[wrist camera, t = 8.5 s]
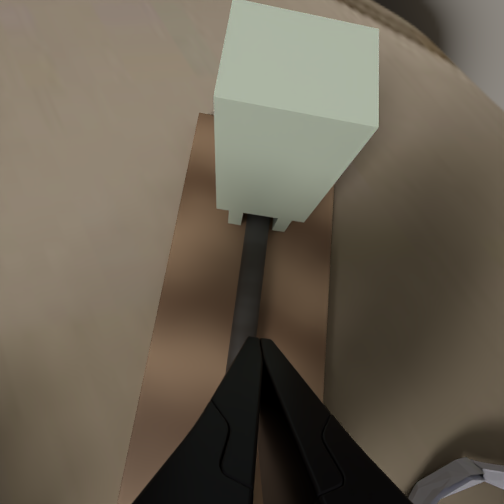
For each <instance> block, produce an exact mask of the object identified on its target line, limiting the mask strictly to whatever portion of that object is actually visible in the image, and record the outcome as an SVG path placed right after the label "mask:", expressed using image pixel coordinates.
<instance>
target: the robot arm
mask: <svg viewBox="0 0 504 504" xmlns="http://www.w3.org/2000/svg"><path fill="white" fill-rule="evenodd" d="M330 414H331V413H330V411H329V410H328V409H327V408H326V406H325V405H324V404H323V403H322V402H321V400H320V399H319V398H318V397H317V395H316V394H315V393H314V392H313V390H312V389H311V388H310V387H309V385H308V384H307V383H306V382H305V380H304V379H303V378H302V377H301V375H300V374H299V373H298V372H297V370H296V369H295V368H294V367H293V365H292V364H291V363H290V362H289V360H288V359H287V358H286V357H285V355H284V354H283V353H282V352H281V350H280V349H279V348H278V347H277V345H276V344H275V343H274V342H273V340H271V339H267V338H260V339H259V338H258V337H251V336H248V337H247V339H246V340H245V342H244V344H243V345H242V347H241V349H240V350H239V352H238V354H237V356H236V357H235V359H234V361H233V362H232V364H231V366H230V367H229V369H228V371H227V372H226V374H225V376H224V377H223V379H222V381H221V383H220V384H219V386H218V388H217V389H216V391H215V393H214V394H213V396H212V398H211V399H210V401H209V402H208V404H207V406H206V407H205V409H204V411H203V412H202V414H201V415H200V417H199V418H198V420H197V421H196V423H195V424H194V426H193V427H192V428H191V430H190V431H189V432H188V434H187V435H186V436H185V438H184V439H183V440H182V442H181V443H180V444H179V445H178V447H177V448H176V449H175V450H174V452H173V453H172V454H171V455H170V457H169V458H168V459H167V460H166V461H165V463H164V464H163V465H162V466H161V468H160V469H159V470H158V471H157V473H156V474H155V475H154V476H153V478H152V479H151V480H150V481H149V483H148V484H147V485H146V486H145V487H144V489H143V490H142V491H141V492H140V494H139V495H138V496H137V497H136V499H135V500H134V501H133V502H132V504H253V495H254V493H253V491H254V481H255V468H256V455H257V442H258V453H259V463H260V474H261V484H262V495H263V504H413V503H412V502H411V501H410V500H409V499H408V498H407V496H406V495H405V494H404V493H403V492H402V491H401V490H400V489H399V488H398V487H397V486H396V485H395V484H394V483H393V482H392V481H391V480H390V479H389V478H388V476H387V475H386V474H385V473H384V472H383V471H382V470H381V469H380V468H379V467H378V466H377V465H376V464H375V463H374V462H373V461H372V460H371V459H370V458H369V456H368V455H367V454H366V453H365V452H364V451H363V450H362V449H361V448H360V447H359V446H358V444H357V443H356V442H355V441H354V440H353V439H352V438H351V436H350V435H349V434H348V433H347V432H346V431H345V429H344V428H343V427H342V426H341V425H340V423H339V422H338V421H337V420H336V418H335V417H334V416H333V415H332V414H331V415H330Z"/></svg>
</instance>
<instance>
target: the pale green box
mask: <svg viewBox="0 0 504 504" xmlns="http://www.w3.org/2000/svg"><path fill="white" fill-rule="evenodd" d="M378 128H379V29H377V28H372V27H368V26H363V25H358V24H354V23H349V22H344V21H339V20H335V19H330V18H325V17H321V16H316V15H311V14H306V13H302V12H297V11H292V10H288V9H283V8H278V7H273V6H269V5H264V4H259V3H255V2H250V1H245V0H233V1H232V6H231V11H230V16H229V21H228V26H227V31H226V36H225V41H224V46H223V51H222V56H221V61H220V66H219V71H218V76H217V81H216V86H215V92H214V134H215V171H216V208H217V209H222V210H229V217H228V223H229V224H236V225H241V221H242V216H243V213H248V214H254V215H260V216H266V217H273V225H272V230H274V231H281V232H285V230H286V229H287V227H288V226H289V224H290V223H291V221H298V222H305V220H306V219H307V218H308V217H309V215H310V214H311V213H312V212H313V210H314V209H315V208H316V206H317V205H318V204H319V203H320V201H321V200H322V199H323V198H324V196H325V195H326V194H327V192H328V191H329V190H330V189H331V187H332V186H333V185H334V184H335V182H336V181H337V180H338V179H339V177H340V176H341V175H342V173H343V172H344V171H345V170H346V168H347V167H348V166H349V165H350V163H351V162H352V161H353V159H354V158H355V157H356V156H357V154H358V153H359V152H360V151H361V149H362V148H363V147H364V145H365V144H366V143H367V142H368V140H369V139H370V138H371V137H372V135H373V134H374V133H375V131H376V130H377V129H378Z"/></svg>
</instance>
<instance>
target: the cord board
mask: <svg viewBox="0 0 504 504" xmlns="http://www.w3.org/2000/svg"><path fill="white" fill-rule="evenodd" d="M333 198H334V185H333V186H332V187H331V189H330V190H329V191H328V192H327V194H326V195H325V196H324V198H323V199H322V200H321V201H320V203H319V204H318V205H317V206H316V208H315V209H314V210H313V212H312V213H311V214H310V215H309V217H308V218H307V219H306V220H305V222H298V221H291V223H290V224H289V226H288V227H287V229H286V230H285V232H281V231H274V230H272V225H273V217H266V216H260V215H254V214H248V213H243V216H242V221H241V225H236V224H229V223H228V217H229V210H222V209H217V208H216V171H215V134H214V115H209V114H203V113H199V116H198V121H197V126H196V131H195V135H194V140H193V145H192V150H191V154H190V159H189V164H188V169H187V173H186V178H185V183H184V188H183V192H182V197H181V202H180V207H179V211H178V216H177V221H176V226H175V230H174V235H173V240H172V245H171V249H170V254H169V259H168V264H167V268H166V273H165V278H164V283H163V287H162V292H161V297H160V302H159V306H158V311H157V316H156V321H155V325H154V330H153V335H152V340H151V344H150V349H149V354H148V359H147V363H146V368H145V373H144V378H143V382H142V387H141V392H140V397H139V401H138V406H137V411H136V415H135V420H134V425H133V430H132V434H131V439H130V444H129V449H128V453H127V458H126V463H125V468H124V472H123V477H122V482H121V487H120V491H119V496H118V501H117V504H132V502H133V501H134V500H135V499H136V497H137V496H138V495H139V494H140V492H141V491H142V490H143V489H144V487H145V486H146V485H147V484H148V483H149V481H150V480H151V479H152V478H153V476H154V475H155V474H156V473H157V471H158V470H159V469H160V468H161V466H162V465H163V464H164V463H165V461H166V460H167V459H168V458H169V457H170V455H171V454H172V453H173V452H174V450H175V449H176V448H177V447H178V445H179V444H180V443H181V442H182V440H183V439H184V438H185V436H186V435H187V434H188V432H189V431H190V430H191V428H192V427H193V426H194V424H195V423H196V421H197V420H198V418H199V417H200V415H201V414H202V412H203V411H204V409H205V407H206V406H207V404H208V402H209V401H210V399H211V398H212V396H213V394H214V393H215V391H216V389H217V388H218V386H219V384H220V383H221V381H222V379H223V377H224V376H225V374H226V372H227V371H228V369H229V367H230V366H231V364H232V362H233V361H234V359H235V357H236V356H237V354H238V352H239V350H240V349H241V347H242V345H243V344H244V342H245V340H246V339H247V337H248V336H251V337H258V338H259V339H260V338H267V339H271V340H273V342H274V343H275V344H276V345H277V347H278V348H279V349H280V350H281V352H282V353H283V354H284V355H285V357H286V358H287V359H288V360H289V362H290V363H291V364H292V365H293V367H294V368H295V369H296V370H297V372H298V373H299V374H300V375H301V377H302V378H303V379H304V380H305V382H306V383H307V384H308V385H309V387H310V388H311V389H312V390H313V392H314V393H315V394H316V395H317V397H318V398H319V399H320V400H321V402H322V403H323V394H324V374H325V355H326V335H327V315H328V296H329V276H330V257H331V237H332V217H333ZM253 493H254V495H253V504H263V495H262V484H261V474H260V463H259V453H258V442H257V455H256V468H255V481H254V491H253Z"/></svg>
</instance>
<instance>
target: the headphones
mask: <svg viewBox="0 0 504 504" xmlns="http://www.w3.org/2000/svg"><path fill="white" fill-rule="evenodd" d="M484 481H485V482H487V483H489V484H492V485H494V486H496V487H499V488H501V489H503V490H504V466H503V465H496V464H490V463H484V462H479V461H474V460H472V459H471V460H469V459H468V458H467V457H464V458H460V459H456V460H454V461H452V462H451V463H449V464H447V465H445V466H444V467H442V468H440V469H439V470H437V471H435V472H433V473H432V474H430V475H428V476H427V477H425V478H423V479H421V480H420V481H418V482H417V483H416V485H415V486H414V488H413V490H412V491H411V493H410V495H409V497H408V499H409V500H410V501H411V502H412V503H413V504H437V503H438V501H439V500H440V499H442V498H444V497H447V496H449V495H452V494H454V493H457V492H459V491H462V490H464V489H467V488H469V487H472V486H474V485H477V484H479V483H482V482H484Z"/></svg>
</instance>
